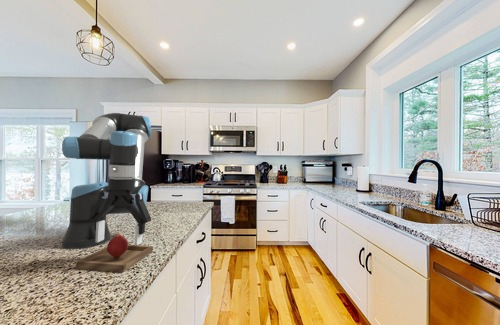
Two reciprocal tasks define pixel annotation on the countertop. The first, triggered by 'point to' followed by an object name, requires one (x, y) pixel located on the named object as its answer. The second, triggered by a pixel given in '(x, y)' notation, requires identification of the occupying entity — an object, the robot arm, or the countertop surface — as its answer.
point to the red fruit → (117, 246)
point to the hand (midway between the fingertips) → (119, 242)
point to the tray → (114, 259)
